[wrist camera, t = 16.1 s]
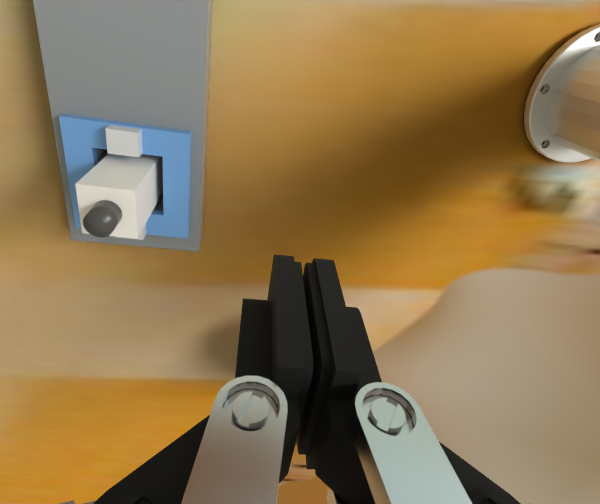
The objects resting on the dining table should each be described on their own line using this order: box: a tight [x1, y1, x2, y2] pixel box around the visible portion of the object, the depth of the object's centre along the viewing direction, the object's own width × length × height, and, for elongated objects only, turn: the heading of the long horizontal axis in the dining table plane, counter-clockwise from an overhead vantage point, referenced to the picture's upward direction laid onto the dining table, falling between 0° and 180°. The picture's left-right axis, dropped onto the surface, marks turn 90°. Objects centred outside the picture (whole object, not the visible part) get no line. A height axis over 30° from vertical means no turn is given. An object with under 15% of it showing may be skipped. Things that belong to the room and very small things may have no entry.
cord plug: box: [75, 154, 163, 239], centre depth 31 cm, size 4×4×12 cm
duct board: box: [33, 0, 212, 252], centre depth 29 cm, size 12×34×5 cm, turn 170°
